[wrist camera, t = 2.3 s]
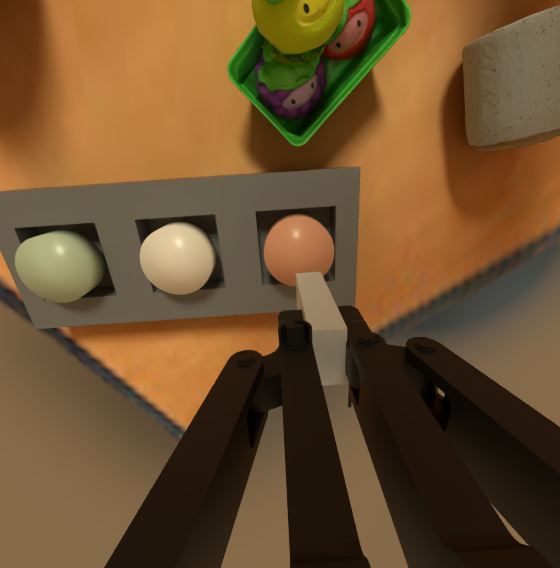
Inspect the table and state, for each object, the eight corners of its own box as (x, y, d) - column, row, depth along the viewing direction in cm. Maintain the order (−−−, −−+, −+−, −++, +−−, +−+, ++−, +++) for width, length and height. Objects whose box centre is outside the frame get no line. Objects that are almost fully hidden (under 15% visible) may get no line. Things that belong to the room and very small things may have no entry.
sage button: (26, 232, 26) (2, 238, 23) (93, 227, 26) (76, 233, 23) (51, 293, 28) (31, 305, 26) (113, 289, 28) (98, 300, 26)
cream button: (144, 224, 26) (131, 229, 23) (211, 219, 26) (205, 224, 23) (159, 285, 28) (149, 296, 26) (220, 281, 28) (216, 292, 26)
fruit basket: (294, 154, 27) (307, 148, 17) (220, 76, 25) (181, 12, 14) (389, 46, 24) (478, -45, 14) (315, -55, 22) (356, -259, 11)
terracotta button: (261, 215, 26) (260, 220, 23) (329, 211, 26) (334, 215, 23) (267, 278, 28) (266, 288, 26) (328, 274, 28) (334, 284, 26)
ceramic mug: (449, 158, 28) (513, 155, 20) (441, 57, 24) (513, 13, 17) (563, 120, 27) (671, 104, 20) (570, 12, 24) (700, -54, 17)
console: (14, 189, 28) (-26, 193, 24) (348, 166, 28) (360, 166, 24) (62, 310, 33) (35, 328, 29) (345, 290, 33) (354, 307, 29)
